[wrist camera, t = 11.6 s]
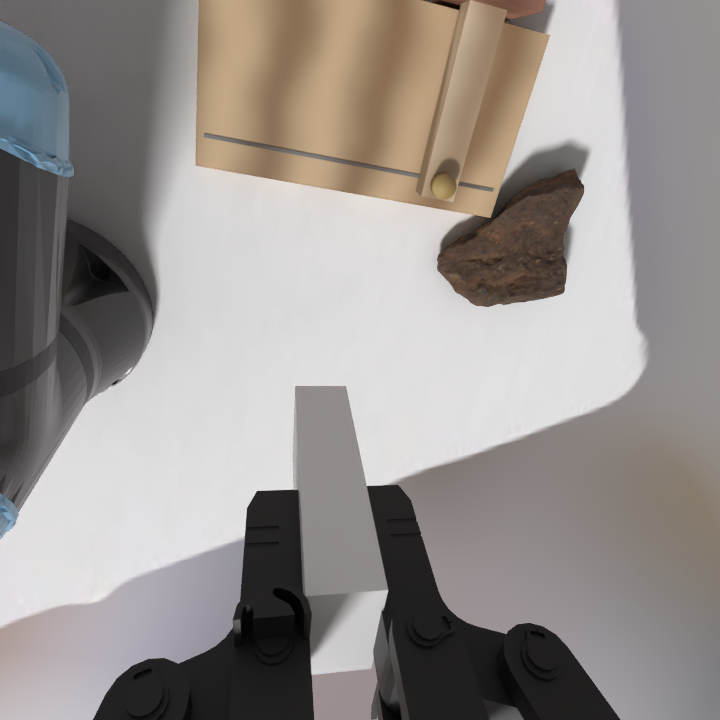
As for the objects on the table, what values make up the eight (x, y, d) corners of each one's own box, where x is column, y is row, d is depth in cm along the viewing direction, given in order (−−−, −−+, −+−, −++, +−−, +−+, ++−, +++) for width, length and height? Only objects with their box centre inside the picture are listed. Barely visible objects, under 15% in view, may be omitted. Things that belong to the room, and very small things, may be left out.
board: (200, 160, 34) (195, 165, 32) (205, -52, 28) (199, -60, 27) (481, 211, 39) (490, 218, 37) (536, 36, 33) (550, 35, 31)
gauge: (393, 182, 36) (409, 199, 31) (448, -73, 29) (482, -105, 24) (454, 193, 37) (479, 212, 32) (522, -51, 30) (569, -76, 25)
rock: (568, 165, 38) (592, 174, 35) (552, 286, 43) (572, 302, 40) (432, 183, 37) (445, 193, 34) (434, 303, 43) (445, 321, 40)
